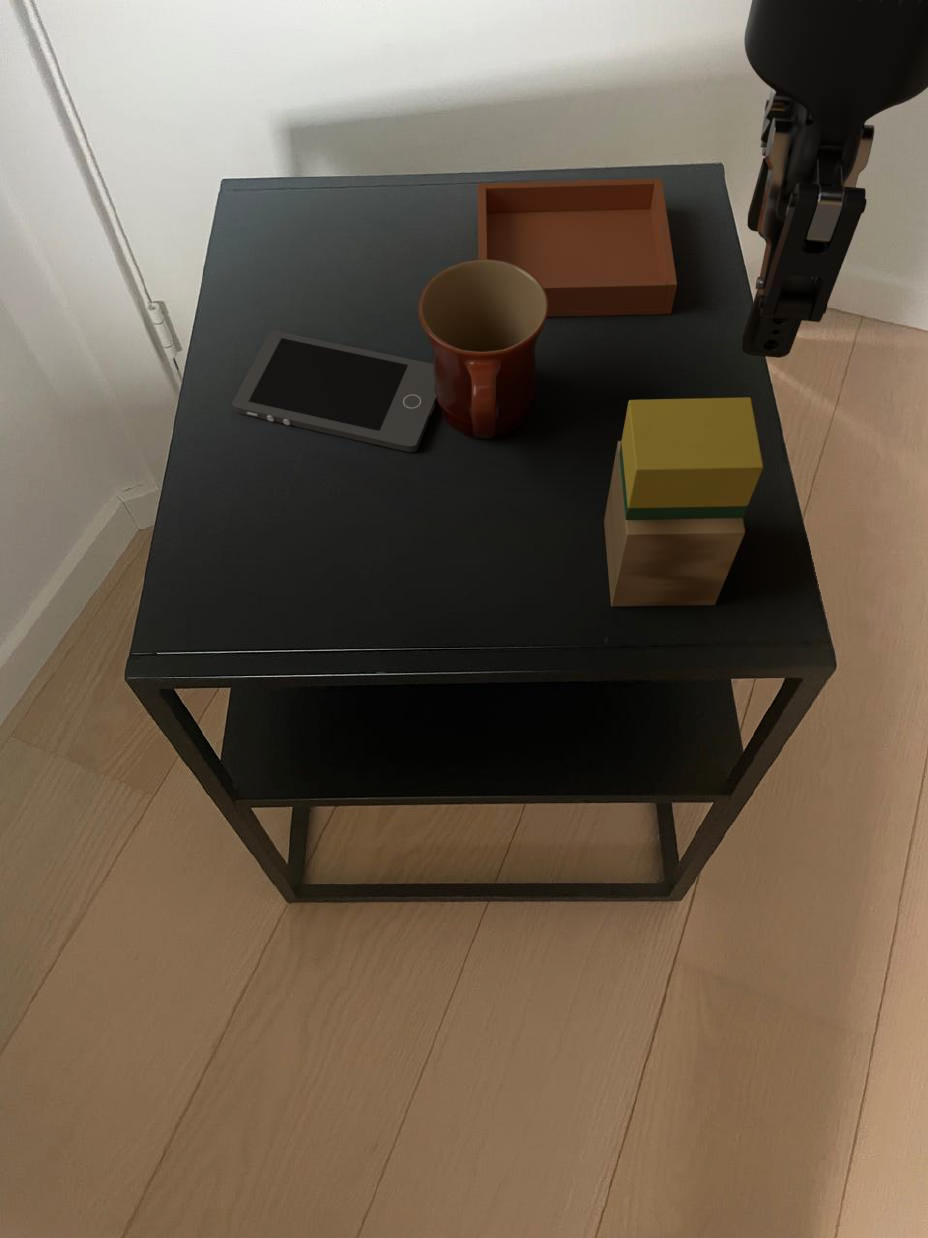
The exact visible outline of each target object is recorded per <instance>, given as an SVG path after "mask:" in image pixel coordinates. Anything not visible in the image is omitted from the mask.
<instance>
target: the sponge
mask: <svg viewBox="0 0 928 1238" xmlns="http://www.w3.org/2000/svg"><path fill="white" fill-rule="evenodd" d="M754 413H755V412H754V408H753V402H752V398H751V397H706V398H703V397H702V398H699V397H698V398H658V399H657V398H656V399H652V398H651V399H629V400H628V403H627V408H626V414H625V419H624V425H623V429H622V430H623V431H622V436H621V441H622V442H621V446H620V452H619V457H620V467H621V478H622V488H623V499H624V510H625V519H626V520H653V519H708V518H743V519H744V517H745V515H746V512H747V509H748V507H749V504H750V501H751V499H752V496H753V494H754V492H755V489H756V486H757V484H758V481H759V479H760V477H761V474H762V471H763V469H764V463H763V458H762V457H763V456H762V451H761V447H760V442H759V441H760V440H759V436H758V435H759V434H758V430H757V425H756V419H755V414H754Z"/></svg>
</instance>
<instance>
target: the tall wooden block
mask: <svg viewBox="0 0 928 1238" xmlns="http://www.w3.org/2000/svg"><path fill="white" fill-rule="evenodd" d="M621 442H622V440H618V441H617V443H616V444H617V445H616V449H615V455H614V462H613V466H612V467H613V468H612V472H611V480H610V484H609V491H608V495H607V501H606V502H607V503H606V507H605V514H604V520H603V525H604V537H605V550H606V551H605V552H606V561H607V572H608V586H609V598H610V606H611V607H612V608H613V607H614V608H615V607H668V606H669V607H670V606H671V607H672V606H674V607H675V606H715V605H716V604H717V601H718V598H719V597H720V594H721V591H722V589H723V587H724V585H725V582H726V580H727V577H728V575H729V573H730V570H731V567H732V564H733V562H734V560H735V558H736V555H737V553H738V551H739V549H740V546H741V543H742V541H743V539H744V536H745V533H746V529H745V523H744V517H743V518H708V519H653V520H626V519H625V510H624V499H623V488H622V478H621V467H620V457H619V452H620V446H621Z"/></svg>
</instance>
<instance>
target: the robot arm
mask: <svg viewBox="0 0 928 1238" xmlns="http://www.w3.org/2000/svg"><path fill="white" fill-rule="evenodd" d="M743 40H744V44H743V45H744V51H745V54H746V55H745V56H746V58H747V60H748V63H749V64H750V66H751V68H752V70H753V71H754V73H755V74H756V75H757V76H758V77H759V79H760V80H761V81H762V82H763V83H764V84H766V85H767V86H768V87H770V91H769V97H768V98H769V99H766V101H765V106H764V115H763V121H762V122H763V123H762V129H761V134H760V148H762V150H761V156H763V158H762V161H761V165H760V169H759V172H758V175H757V180H756V183H755V187H754V190H753V194H752V198H751V200H750V205H749V208H748V212H747V224H746V225H747V227H748V229H749V230H750V231H752V232H756V233H758V235H759V236H760V237H761V238H762V239H763V240H764V241H765V248H764V253H763V257H762V263H761V267H760V272H759V276H757V278H756V281H755V289H756V292H755V295H754V299H753V303H752V304H751V305H752V306H751V308H750V312H749V315H748V319H747V321H746V325H745V327H744V331H743V334H742V343H741V345H742V346H741V350H742V351H743V353H744V354H745V355H749V356H758V357H768V358H777V359H779V358H783V357H784V358H785V357H786V356H788V355H789V354H790V352H791V350H792V347H793V345H794V343H795V340H796V337H797V335H798V332H799V329H800V327H801V324H802V322H813V323H820V322H821V321H822V319H823V317H824V315H825V314H826V312H827V309H828V304H829V301H830V299H831V295H832V293H833V291H834V288H835V284H836V282H837V280H838V277H839V274H840V271H841V269H842V266H843V264H844V261H845V258H846V256H847V253H848V252H849V251H848V250H849V248H850V245H851V243H852V240H853V238H854V235H855V232H856V230H857V227H858V224H859V222H860V219H861V217H862V214H864V212H865V211H866V207H867V198H866V196H867V195H866V193H867V192H866V188H865V187H857V183H858V179H859V176H860V174H861V172H863V171H864V170H865V168H866V167H867V166H868V163H869V161H870V160H869V159H870V155H871V152H872V151H871V150H872V146H873V142H874V137H875V125H873V124H866V122H867V121H868V120H870V119H871V118H873V117H874V116H876V115H878V114H880V113H881V112H884V111H887V109H891V108H893V107H896V106H899V105H902V104H904V103H906V102H909V101H910V100H912V99H914V98H916V97H917V96H919V95H920V94H921V93H923V92H924V91H925V90H927V89H928V0H751V4H750V9H749V12H748V18H747V21H746V26H745V31H744V39H743Z"/></svg>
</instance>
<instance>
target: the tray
mask: <svg viewBox="0 0 928 1238" xmlns="http://www.w3.org/2000/svg"><path fill="white" fill-rule="evenodd" d="M664 191H665V189H664V184H663V179H662V177H656V178H655V177H654V178H624V179H623V178H621V179H587V180H586V179H584V180H583V179H582V180H551V181H550V180H548V181H546V180H545V181H516V182H515V181H513V182H512V181H511V182H487V183H486V182H478V183H477V218H478V219H477V234H478V237H477V239H478V241H477V243H478V244H477V245H478V249H477V250H478V260H479V259H491V260H499V261H504V262H508V263H511V264H514V265H517V266H519V267H521V268H523V269H525V270H526V271H528V272H529V273H531V274H532V275H533V276H534V277H535V278H536V279H537V280H538V281H539V282H540V283H541V285H542V286H543V288H544V290H545V292H546V294H547V298H548V303H549V310H548V316H547V318H558V317H559V318H562V317H563V318H564V317H565V318H566V317H567V318H568V317H606V316H607V317H608V316H609V317H610V316H646V315H647V316H649V315H671V313H672V312H673V311H672V310H673V306H674V301H675V297H676V292H677V287H678V281H677V273H676V267H675V260H674V251H673V247H672V241H671V240H672V239H671V233H670V226H669V225H670V224H669V219H668V212H667V205H666V198H665V192H664Z"/></svg>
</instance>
